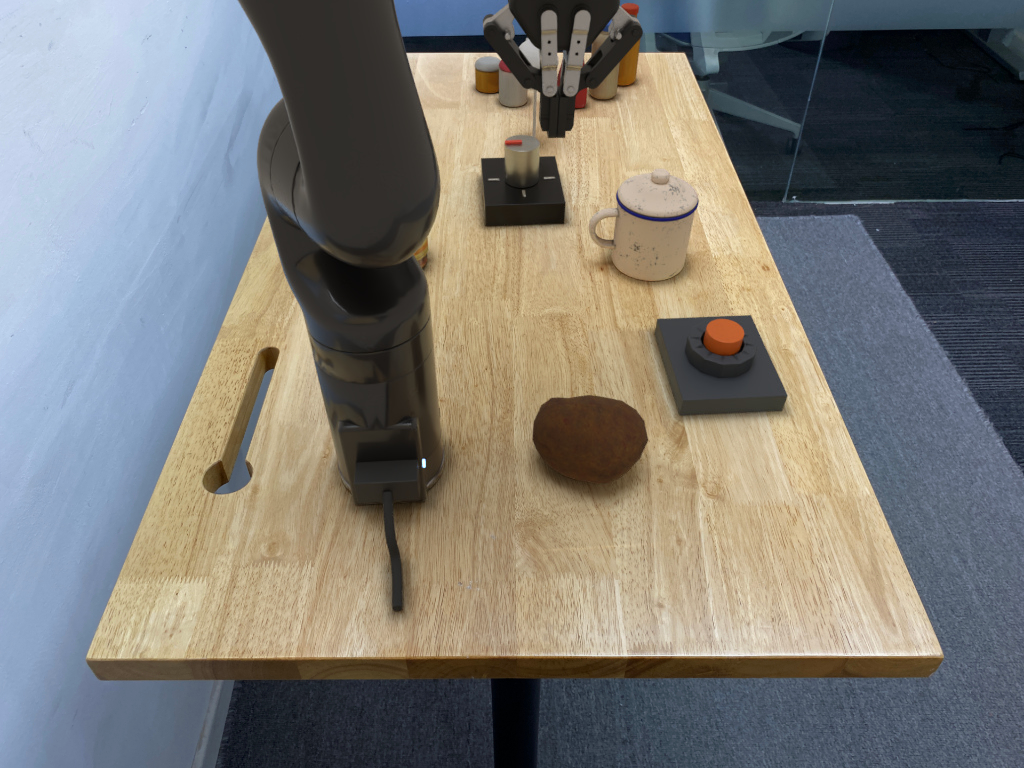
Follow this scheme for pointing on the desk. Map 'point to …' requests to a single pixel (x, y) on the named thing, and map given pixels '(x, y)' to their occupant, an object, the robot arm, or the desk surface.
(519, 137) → the stove knob
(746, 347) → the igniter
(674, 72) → the desk surface
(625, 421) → the potato
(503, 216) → the stove panel
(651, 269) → the teacup with lid
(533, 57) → the lollipop
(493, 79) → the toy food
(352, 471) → the robot arm
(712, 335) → the button
